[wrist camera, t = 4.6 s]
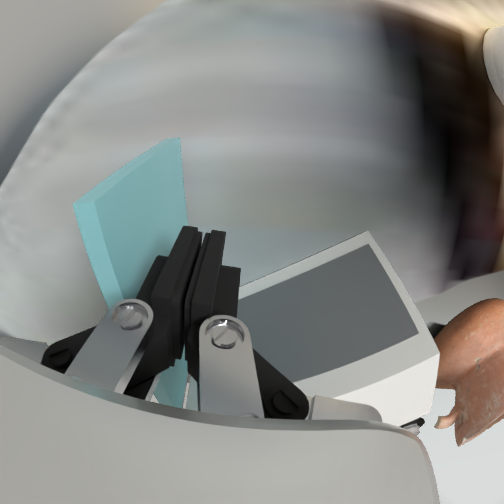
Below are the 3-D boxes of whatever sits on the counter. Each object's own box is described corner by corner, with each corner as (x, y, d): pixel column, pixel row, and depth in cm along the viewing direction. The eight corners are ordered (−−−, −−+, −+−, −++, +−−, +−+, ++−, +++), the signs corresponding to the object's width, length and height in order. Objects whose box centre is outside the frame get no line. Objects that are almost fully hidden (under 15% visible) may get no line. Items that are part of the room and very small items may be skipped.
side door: (158, 139, 14) (60, 205, 6) (179, 137, 14) (94, 202, 6) (185, 311, 22) (161, 417, 14) (201, 311, 22) (182, 420, 14)
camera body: (367, 229, 18) (446, 365, 9) (390, 313, 23) (433, 421, 13) (188, 307, 23) (161, 438, 13) (247, 365, 27) (245, 470, 17)
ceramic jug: (395, 378, 31) (422, 466, 19) (420, 308, 23) (477, 431, 11) (486, 339, 29) (520, 407, 17) (520, 269, 21) (576, 346, 9)
